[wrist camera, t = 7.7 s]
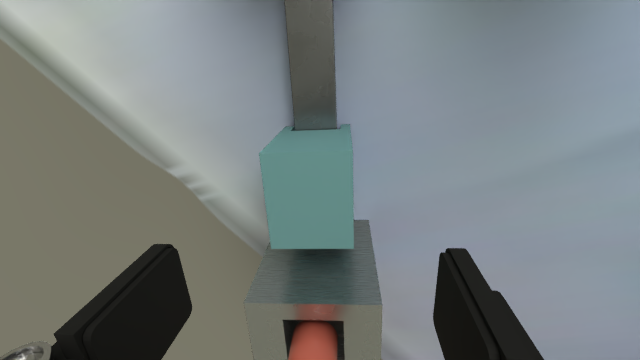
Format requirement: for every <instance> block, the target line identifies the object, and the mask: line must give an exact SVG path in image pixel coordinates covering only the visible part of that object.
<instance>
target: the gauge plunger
mask: <svg viewBox="0 0 640 360" xmlns="http://www.w3.org/2000/svg"><path fill="white" fill-rule="evenodd" d="M337 347H338V335H337V332H336V330H335V328H334V327H333V326H332V325H331V324H329V323H328V322H326V321H323V320H304V321H302V322H300V323H299V324H297V325H296V327H295V328H294V331H293V336H292V341H291V347H290V352H289V357H288V360H337Z"/></svg>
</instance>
